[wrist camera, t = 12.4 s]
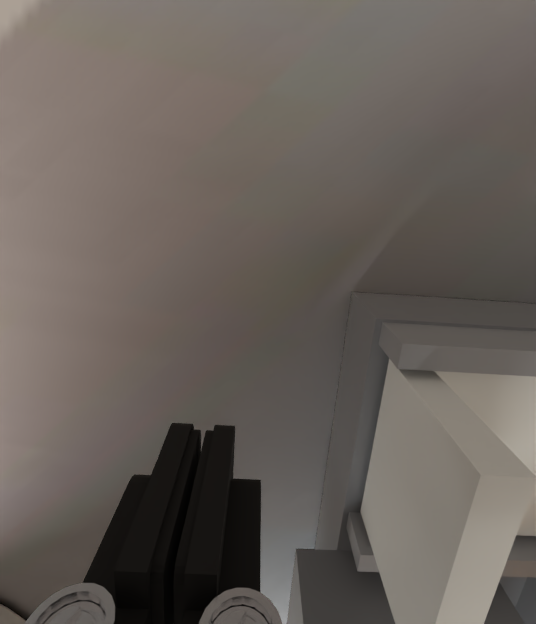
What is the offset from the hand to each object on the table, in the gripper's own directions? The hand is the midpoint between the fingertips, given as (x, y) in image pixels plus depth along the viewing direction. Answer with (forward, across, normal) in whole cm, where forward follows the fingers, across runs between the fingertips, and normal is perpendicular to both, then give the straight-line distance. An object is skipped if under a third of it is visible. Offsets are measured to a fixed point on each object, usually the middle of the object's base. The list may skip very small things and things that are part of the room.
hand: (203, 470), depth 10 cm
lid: (+2, -9, 0) cm, 9 cm away
